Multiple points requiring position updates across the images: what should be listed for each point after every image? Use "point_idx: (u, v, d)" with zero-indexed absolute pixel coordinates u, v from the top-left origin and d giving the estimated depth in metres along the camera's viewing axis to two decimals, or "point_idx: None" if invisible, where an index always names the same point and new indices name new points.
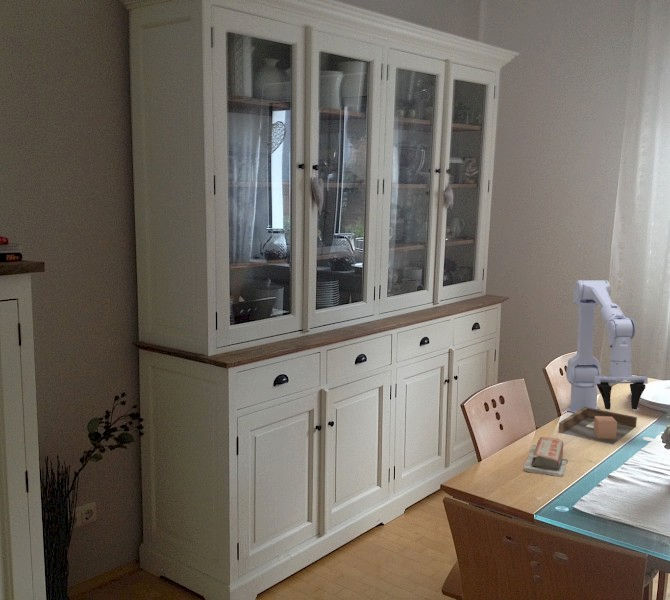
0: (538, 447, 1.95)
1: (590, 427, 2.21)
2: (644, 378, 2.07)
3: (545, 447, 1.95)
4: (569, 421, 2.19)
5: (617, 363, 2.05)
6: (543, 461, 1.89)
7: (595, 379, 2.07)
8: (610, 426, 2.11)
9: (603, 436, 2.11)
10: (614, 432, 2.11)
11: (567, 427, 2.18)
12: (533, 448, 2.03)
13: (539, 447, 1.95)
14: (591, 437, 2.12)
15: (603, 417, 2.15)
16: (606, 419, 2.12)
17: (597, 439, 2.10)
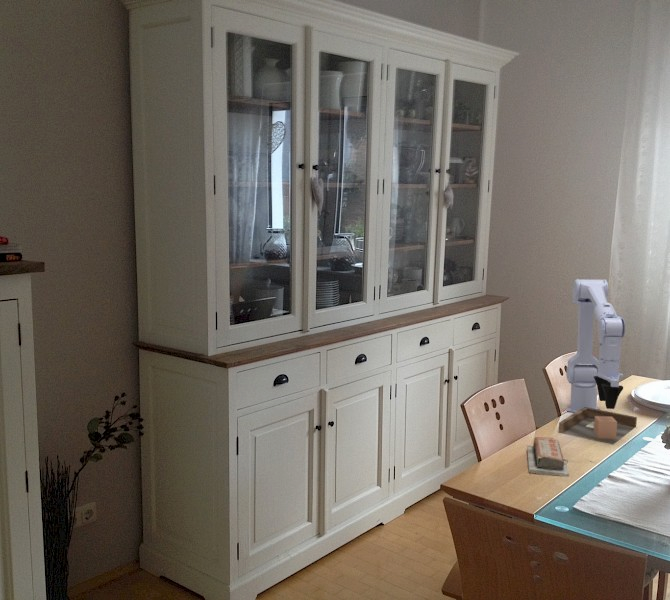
0: (539, 448, 1.95)
1: (590, 427, 2.21)
2: None
3: (545, 447, 1.95)
4: (569, 421, 2.19)
5: (618, 362, 2.08)
6: (548, 461, 1.89)
7: (615, 383, 2.04)
8: (610, 426, 2.11)
9: (603, 436, 2.11)
10: (614, 432, 2.11)
11: (567, 427, 2.18)
12: (529, 449, 2.03)
13: (540, 448, 1.95)
14: (591, 437, 2.12)
15: (603, 417, 2.15)
16: (606, 419, 2.12)
17: (597, 439, 2.10)
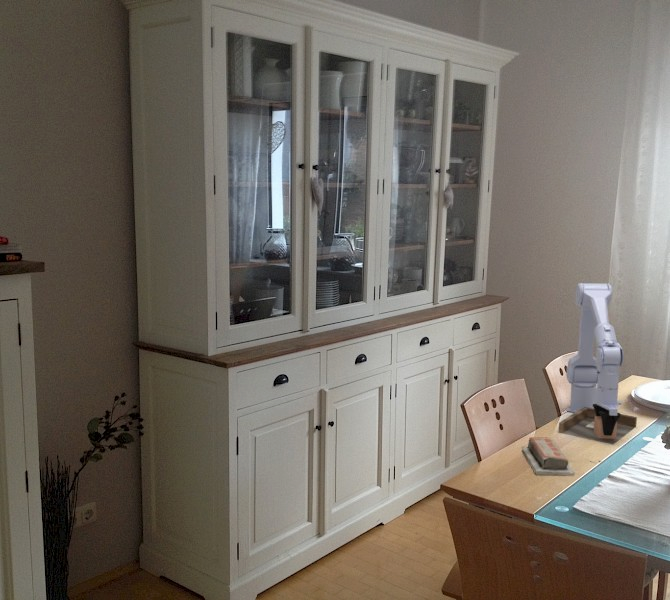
0: (539, 448, 1.94)
1: (590, 427, 2.21)
2: None
3: (545, 448, 1.95)
4: (569, 421, 2.19)
5: (616, 390, 2.09)
6: (553, 462, 1.88)
7: (613, 411, 2.05)
8: None
9: (603, 436, 2.11)
10: (614, 432, 2.11)
11: (567, 427, 2.18)
12: (525, 449, 2.02)
13: (540, 448, 1.94)
14: (591, 437, 2.12)
15: None
16: None
17: (597, 439, 2.10)
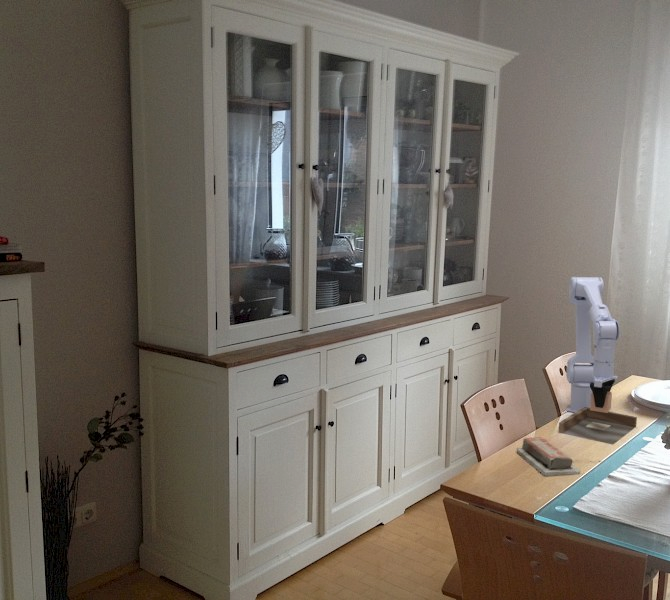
0: (541, 449, 1.94)
1: (590, 427, 2.21)
2: None
3: (546, 448, 1.95)
4: (569, 421, 2.19)
5: (610, 364, 2.14)
6: (559, 461, 1.88)
7: (597, 383, 2.11)
8: None
9: (595, 409, 2.17)
10: (606, 406, 2.15)
11: (567, 427, 2.18)
12: (521, 451, 2.01)
13: (542, 449, 1.94)
14: (591, 437, 2.12)
15: None
16: None
17: (597, 439, 2.10)
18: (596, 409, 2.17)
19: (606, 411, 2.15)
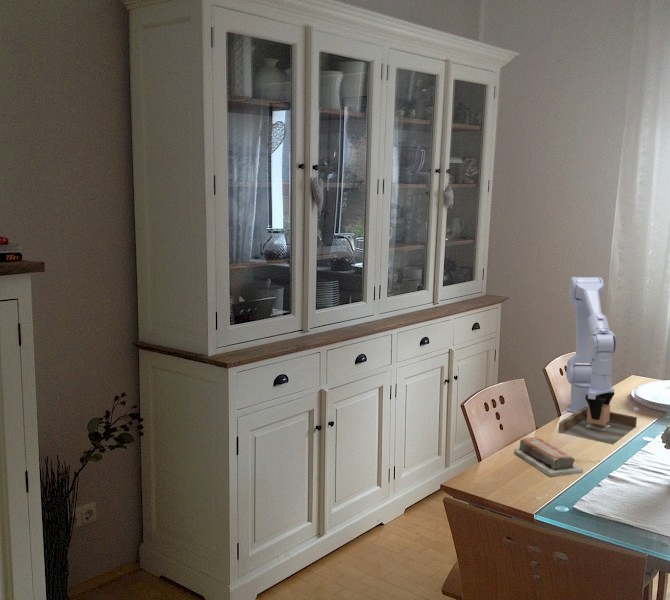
0: (542, 449, 1.94)
1: (590, 427, 2.21)
2: (611, 385, 2.24)
3: (546, 448, 1.94)
4: (569, 421, 2.19)
5: (606, 377, 2.17)
6: (562, 461, 1.89)
7: (591, 395, 2.15)
8: None
9: (591, 421, 2.20)
10: (601, 418, 2.18)
11: (567, 427, 2.18)
12: (520, 452, 2.00)
13: (543, 449, 1.94)
14: (591, 437, 2.12)
15: None
16: None
17: (597, 439, 2.10)
18: (592, 421, 2.20)
19: (602, 423, 2.18)
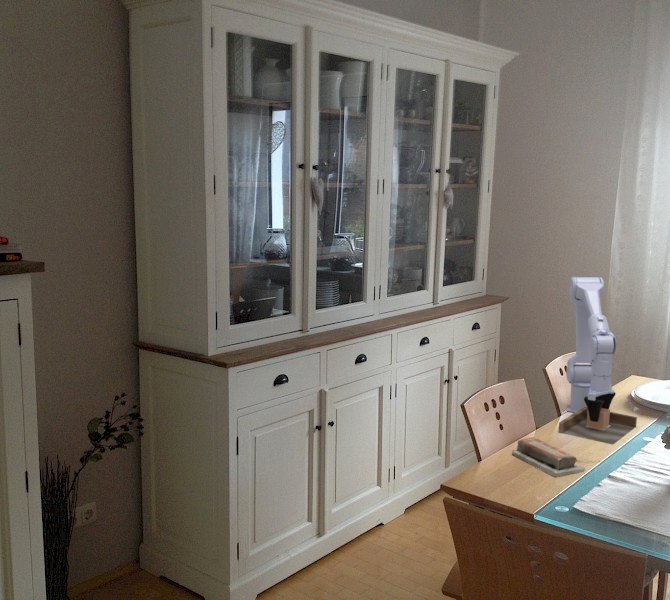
0: (543, 450, 1.93)
1: (590, 427, 2.21)
2: (611, 386, 2.24)
3: (547, 448, 1.94)
4: (569, 421, 2.19)
5: (606, 378, 2.17)
6: (565, 461, 1.89)
7: (591, 396, 2.15)
8: None
9: (591, 425, 2.21)
10: (601, 423, 2.18)
11: (567, 427, 2.18)
12: (518, 453, 2.00)
13: (544, 449, 1.93)
14: (591, 437, 2.12)
15: None
16: None
17: (597, 439, 2.10)
18: (592, 425, 2.20)
19: (602, 428, 2.19)
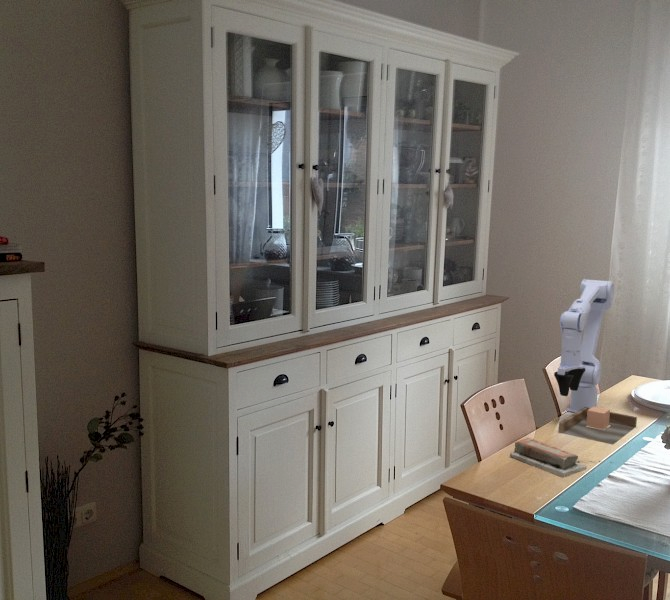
0: (545, 450, 1.93)
1: (590, 427, 2.21)
2: (581, 362, 2.30)
3: (548, 448, 1.94)
4: (569, 421, 2.19)
5: (575, 353, 2.23)
6: (569, 460, 1.89)
7: (560, 371, 2.21)
8: (597, 416, 2.19)
9: (591, 425, 2.21)
10: (601, 423, 2.18)
11: (567, 427, 2.18)
12: (517, 455, 1.98)
13: (546, 450, 1.93)
14: (591, 437, 2.12)
15: (600, 408, 2.22)
16: (598, 410, 2.21)
17: (597, 439, 2.10)
18: (592, 425, 2.20)
19: (602, 428, 2.19)
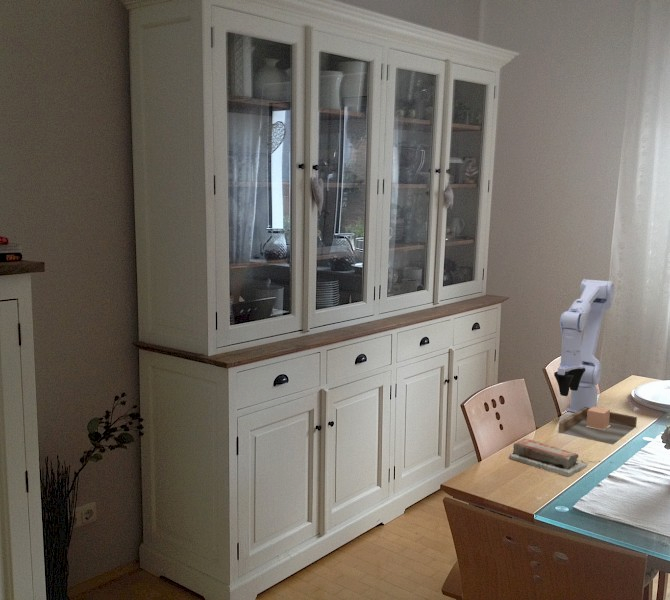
0: (546, 450, 1.93)
1: (590, 427, 2.21)
2: (581, 362, 2.30)
3: (548, 448, 1.94)
4: (569, 421, 2.19)
5: (575, 353, 2.23)
6: (572, 459, 1.90)
7: (560, 371, 2.21)
8: (597, 416, 2.19)
9: (591, 425, 2.21)
10: (601, 423, 2.18)
11: (567, 427, 2.18)
12: (517, 456, 1.97)
13: (547, 450, 1.93)
14: (591, 437, 2.12)
15: (600, 408, 2.22)
16: (598, 410, 2.21)
17: (597, 439, 2.10)
18: (592, 425, 2.20)
19: (602, 428, 2.19)
